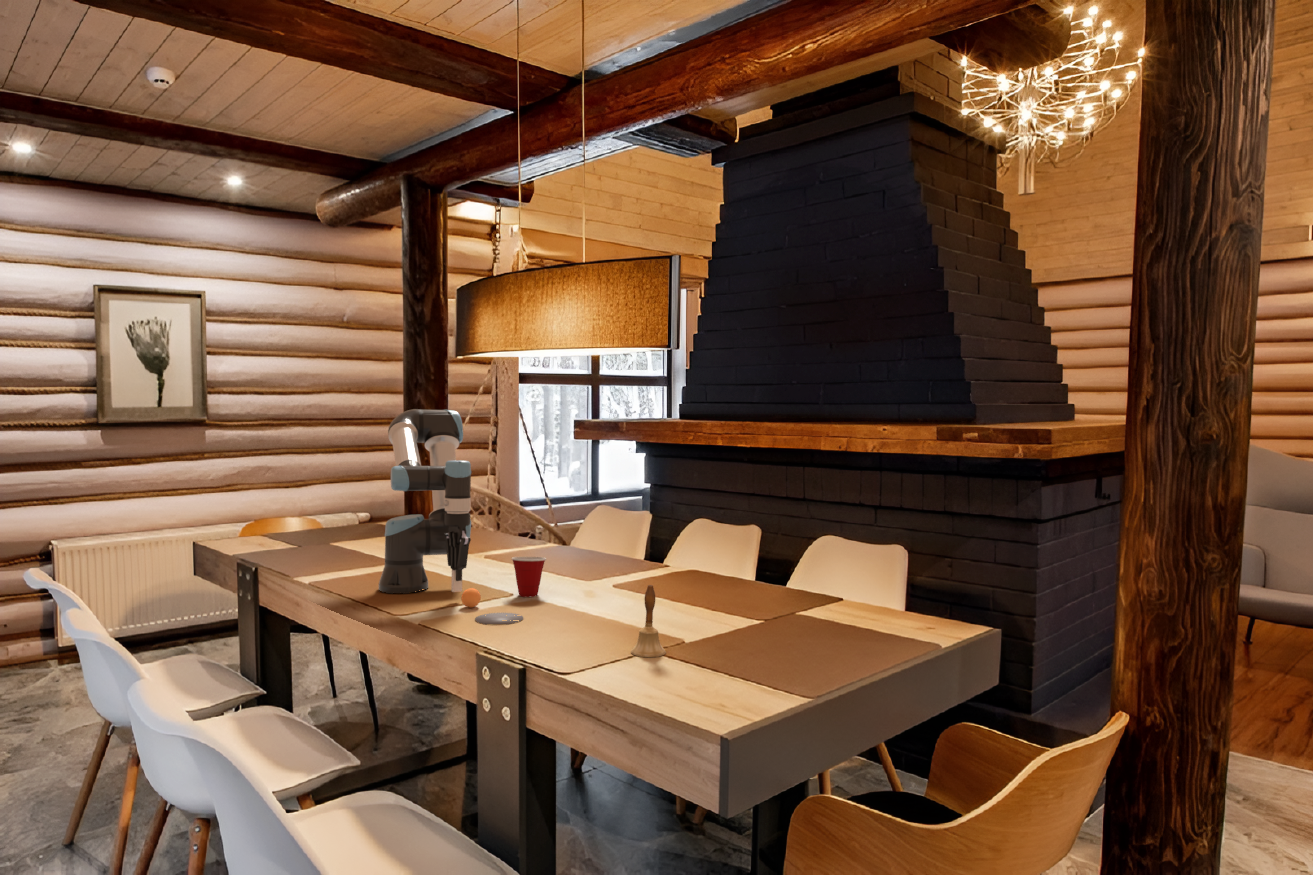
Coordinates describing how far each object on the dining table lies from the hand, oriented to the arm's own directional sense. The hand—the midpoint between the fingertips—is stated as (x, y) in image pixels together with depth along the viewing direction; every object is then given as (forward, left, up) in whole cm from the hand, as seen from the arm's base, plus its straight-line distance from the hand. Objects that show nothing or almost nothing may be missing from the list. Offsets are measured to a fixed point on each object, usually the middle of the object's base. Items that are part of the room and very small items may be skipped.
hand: (456, 591), depth 241 cm
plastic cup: (+4, +22, -3) cm, 23 cm away
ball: (+9, 0, 0) cm, 9 cm away
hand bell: (+75, +13, -3) cm, 76 cm away
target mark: (+26, 0, -3) cm, 26 cm away
